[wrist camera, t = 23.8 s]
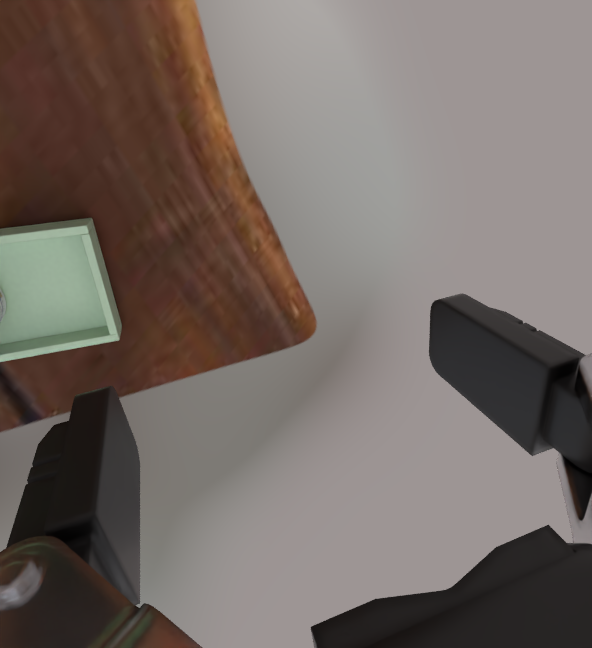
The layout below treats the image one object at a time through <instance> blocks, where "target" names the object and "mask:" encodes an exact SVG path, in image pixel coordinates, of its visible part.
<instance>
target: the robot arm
mask: <svg viewBox="0 0 592 648" xmlns="http://www.w3.org/2000/svg"><path fill="white" fill-rule="evenodd" d="M429 356H430V360H431V363H432V366H433V367H434V369H435V371H436V372H437V373H438V374H439V375H440V376H441V377H442V378H443V379H444V380H446V381H447V382H448V383H449V384H450V385H451V386H452V387H454V388H455V389H456V390H457V391H458V392H459V393H460V394H462V395H463V396H464V397H465V398H466V399H467V400H468V401H470V402H471V403H472V404H473V405H474V406H475V407H477V408H478V409H479V410H480V411H481V412H482V413H483V414H485V415H486V416H487V417H488V418H489V419H490V420H491V421H493V422H494V423H495V424H496V425H497V426H498V427H499V428H501V429H502V430H503V431H504V432H505V433H506V434H508V435H509V436H510V437H511V438H512V439H513V440H514V441H516V442H517V443H518V444H519V445H520V446H521V447H523V448H524V449H525V450H526V451H527V452H528V453H529V454H530V455H532V456H533V455H536V454H539V453H541V452H544V451H546V450H549V449H552V448H555V449H556V450H557V451H558V452H559V454H558V458H557V469H558V473H559V478H560V482H561V486H562V491H563V495H564V499H565V503H566V508H567V513H568V517H569V521H570V526H571V530H572V536H573V543H566V542H565V541H564V540H563V539H562V538H561V537H560V536H559V535H558V534H557V533H556V532H555V531H554V530H553V529H552V528H551V527H550V526H549V525H547V526H545V527H542V528H540V529H538V530H535V531H533V532H531V533H528V534H526V535H524V536H521V537H519V538H517V539H514V540H512V541H510V542H507V543H505V544H503V545H500V546H498V547H496V548H495V549H494V550H493V551H491V553H489V554H488V555H487V556H486V557H485V558H484V559H483V560H482V561H480V562H479V563H478V564H477V565H476V566H475V567H474V568H473V569H472V570H471V571H470V572H469V573H467V574H466V575H465V576H464V577H463V578H462V579H461V580H460V581H458V582H457V583H456V584H455V585H454V586H453V587H451V588H449V589H447V590H443V591H436V592H428V593H420V594H412V595H404V596H396V597H388V598H380V599H375V600H372V601H370V602H367V603H366V604H363V605H361V606H358V607H356V608H354V609H351V610H349V611H347V612H344V613H342V614H340V615H337V616H335V617H333V618H330V619H328V620H326V621H323V622H321V623H319V624H316V625H314V626H312V627H311V632H312V637H313V642H314V648H592V354H588V355H584V354H583V353H581V352H579V351H577V350H575V349H573V348H571V347H570V346H568V345H566V344H564V343H562V342H560V341H559V340H557V339H555V338H553V337H551V336H549V335H547V334H546V333H544V332H542V331H540V330H539V331H537V330H536V328H535V327H533V326H531V325H529V324H527V323H524V324H523V321H522V320H519V319H518V318H516V317H514V316H512V315H510V314H508V313H507V312H504V311H500V310H497V309H493V308H489V307H487V306H486V305H484V304H482V303H480V302H478V301H477V300H475V299H473V298H471V297H469V296H468V295H465V294H458V295H454V296H450V297H446V298H443V299H439V300H436V301H434V302H433V304H432V306H431V313H430V341H429ZM32 464H33V467H32V468H31V470H30V473H29V476H28V479H27V481H28V484H27V485H26V486H25V489H24V492H23V496H22V499H21V502H20V505H19V509H18V512H17V515H16V518H15V522H14V525H13V528H12V531H11V534H10V538H9V541H8V544H7V547H6V549H4V550H3V551H1V552H0V648H202V647H201V646H200V645H199V644H197V643H196V642H195V641H194V640H193V639H192V638H190V637H189V636H188V635H187V634H185V633H184V632H183V631H182V630H181V629H180V628H179V627H177V626H176V625H175V624H174V623H173V622H171V621H170V620H169V619H168V618H167V617H165V616H164V615H163V614H162V613H161V612H160V611H158V610H157V609H155V608H154V607H153V606H151V605H149V604H143V605H142V606H141V607H140V608H138V607H137V606H135V605H137V604H139V603H140V461H139V454H138V449H137V445H136V442H135V439H134V436H133V433H132V431H131V428H130V426H129V423H128V421H127V418H126V415H125V413H124V410H123V408H122V405H121V403H120V400H119V397H118V395H117V393H116V390H115V389H114V387H113V386H109V387H105V388H101V389H97V390H94V391H90V392H86V393H82V394H79V395H76V396H75V398H74V401H73V406H72V410H71V414H70V419H69V421H67V422H63V423H60V424H56V425H54V426H53V427H52V428H51V430H50V431H49V432H48V433H47V434H46V435H45V437H44V438H43V439H42V441H41V442H40V443H39V444H38V447H37V450H36V453H35V457H34V460H33V463H32Z"/></svg>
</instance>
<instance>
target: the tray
mask: <svg viewBox="0 0 592 648" xmlns="http://www.w3.org/2000/svg"><path fill="white" fill-rule="evenodd" d="M0 289H1V290H2V292H3V294H4V297H5V300H6V311H5V315H4V317H3V319H2V320H1V322H0V362H3V361H8V360H14V359H19V358H25V357H30V356H36V355H41V354H47V353H52V352H58V351H63V350H68V349H74V348H79V347H85V346H90V345H96V344H101V343H107V342H112V341H118V340H120V334H121V328H122V324H121V320H120V317H119V313H118V309H117V306H116V302H115V299H114V295H113V291H112V288H111V284H110V281H109V277H108V273H107V270H106V266H105V263H104V259H103V256H102V252H101V248H100V245H99V241H98V238H97V234H96V230H95V227H94V223H93V220H92V218H85V219H77V220H68V221H60V222H52V223H44V224H35V225H27V226H19V227H11V228H2V229H0Z"/></svg>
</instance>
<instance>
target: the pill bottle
mask: <svg viewBox="0 0 592 648" xmlns="http://www.w3.org/2000/svg"><path fill="white" fill-rule="evenodd" d="M5 311H6V300H5V297H4V294H3V292H2V290H1V289H0V322H1V320H2V319H3V317H4V315H5Z"/></svg>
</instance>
